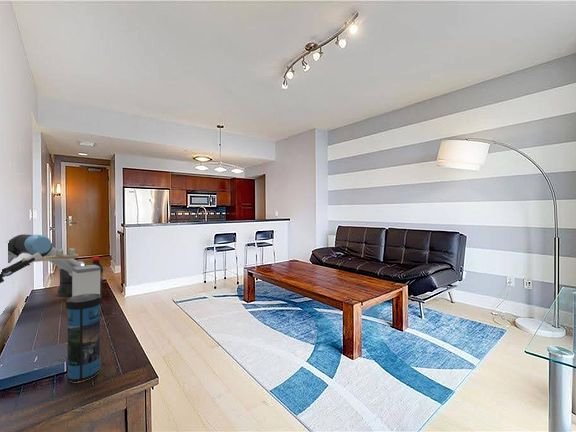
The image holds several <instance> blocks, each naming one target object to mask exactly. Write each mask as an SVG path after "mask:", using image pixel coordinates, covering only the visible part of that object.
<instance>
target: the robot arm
mask: <svg viewBox="0 0 576 432" xmlns="http://www.w3.org/2000/svg"><path fill="white" fill-rule="evenodd" d="M8 241H9V243H8V263H9V264H10V263H12V261H13V260H14V259H17V258H18V257H19V256H21V255H22V254H27V255H29V256H27V258H29V259H27V260H26V261H24V262H22V259H21V260H19V261H17V262H15V263H13V264H11V265H8V266H7V267H6V268H4V269H2V272H1V274H0V284H2V283H4V282H5V279H4V278H5V277H10V276H11V275H13V274H14V273H16V272H18V271H20V270H22V269H24V268H27V267H28V266H31V264H32V263H35V262H34V261H36V260H38V259H40V258H42V257H47V256H56V249H57V248H55V247H54V244H53V243H52V242H51V241H52V240H51V239H50V238H49V237H48V236H45V235H43V234H25V233H24V234H22V233H21V234H19V235H16V236H13V237H12V238H11V239H9V240H8ZM63 255H67V254H66V253H65V252H63ZM48 262H49V263H51V264H53V265H54V266H57V267H58V268H59V285H58V289H56V290H57V291H56V296H57V297H69V296H70V297H72V267H77V266H87V265H88V264H87V263H85V262H84V261H78V260H76V259H75V258H71V259H60V260H49V261H48Z"/></svg>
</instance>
